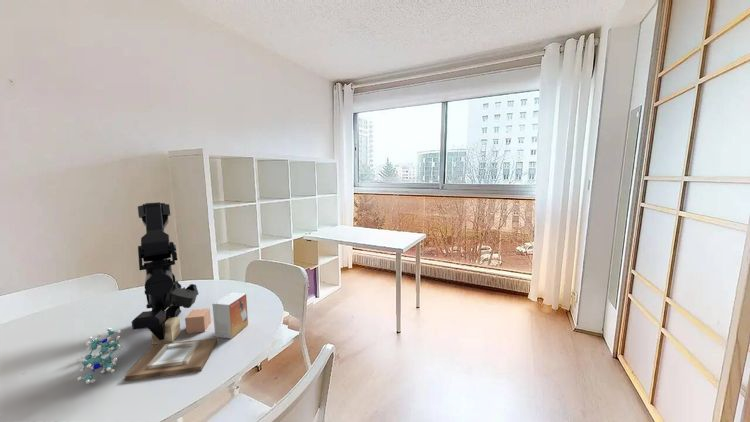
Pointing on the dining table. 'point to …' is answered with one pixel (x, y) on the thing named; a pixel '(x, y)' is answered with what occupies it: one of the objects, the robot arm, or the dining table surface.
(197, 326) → the terracotta block
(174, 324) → the maple block
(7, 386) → the dining table surface
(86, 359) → the molecule model
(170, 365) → the walnut board
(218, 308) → the small box
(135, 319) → the robot arm
